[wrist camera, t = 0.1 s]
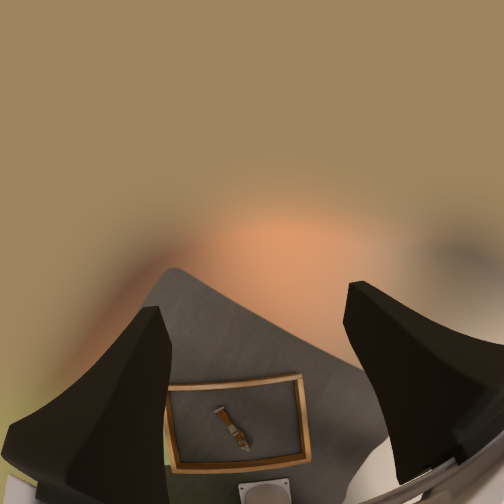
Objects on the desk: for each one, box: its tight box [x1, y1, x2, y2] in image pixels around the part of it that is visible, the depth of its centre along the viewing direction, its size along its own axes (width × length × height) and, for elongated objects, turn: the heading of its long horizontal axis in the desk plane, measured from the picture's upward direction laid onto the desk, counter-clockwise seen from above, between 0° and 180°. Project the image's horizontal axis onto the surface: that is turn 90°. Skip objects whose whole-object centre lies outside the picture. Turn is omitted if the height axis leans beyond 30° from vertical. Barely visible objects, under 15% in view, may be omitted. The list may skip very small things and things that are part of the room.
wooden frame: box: [164, 373, 312, 474], centre depth 33 cm, size 15×21×3 cm
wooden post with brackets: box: [214, 406, 252, 452], centre depth 33 cm, size 2×8×4 cm, turn 36°
